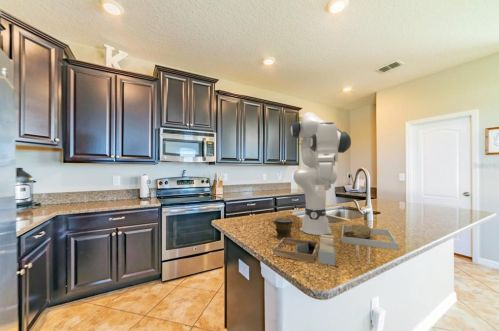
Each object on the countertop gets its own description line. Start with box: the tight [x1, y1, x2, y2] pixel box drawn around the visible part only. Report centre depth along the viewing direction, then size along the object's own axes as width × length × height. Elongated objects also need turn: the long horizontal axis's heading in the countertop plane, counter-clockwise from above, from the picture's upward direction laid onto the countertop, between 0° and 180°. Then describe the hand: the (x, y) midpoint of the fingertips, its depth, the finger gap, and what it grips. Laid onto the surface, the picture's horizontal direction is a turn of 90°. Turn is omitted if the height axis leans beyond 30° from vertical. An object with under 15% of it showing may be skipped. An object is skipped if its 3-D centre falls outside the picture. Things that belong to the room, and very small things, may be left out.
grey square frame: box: [341, 224, 399, 250], centre depth 116 cm, size 24×24×3 cm
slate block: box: [317, 247, 336, 267], centre depth 87 cm, size 6×6×5 cm
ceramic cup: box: [268, 217, 294, 240], centre depth 118 cm, size 13×10×10 cm
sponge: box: [343, 223, 372, 239], centre depth 118 cm, size 13×8×20 cm
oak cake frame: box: [272, 237, 320, 264], centre depth 97 cm, size 17×17×3 cm
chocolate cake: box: [295, 240, 316, 255], centre depth 95 cm, size 10×7×12 cm
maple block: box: [319, 234, 335, 252], centre depth 87 cm, size 5×5×5 cm
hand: (327, 189), depth 94 cm, fingers open, 8 cm apart
